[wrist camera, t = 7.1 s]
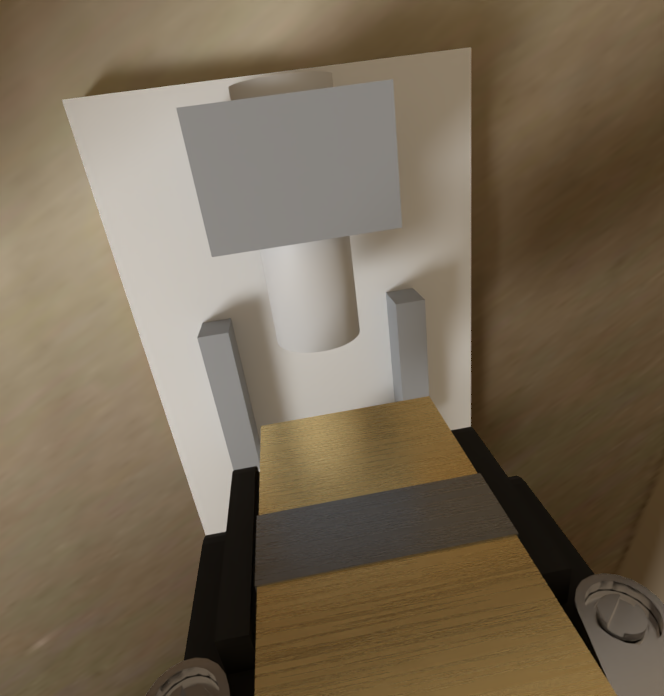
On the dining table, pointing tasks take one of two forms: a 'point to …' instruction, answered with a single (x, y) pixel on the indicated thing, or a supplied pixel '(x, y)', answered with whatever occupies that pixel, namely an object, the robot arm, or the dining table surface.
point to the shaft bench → (238, 279)
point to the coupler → (398, 569)
